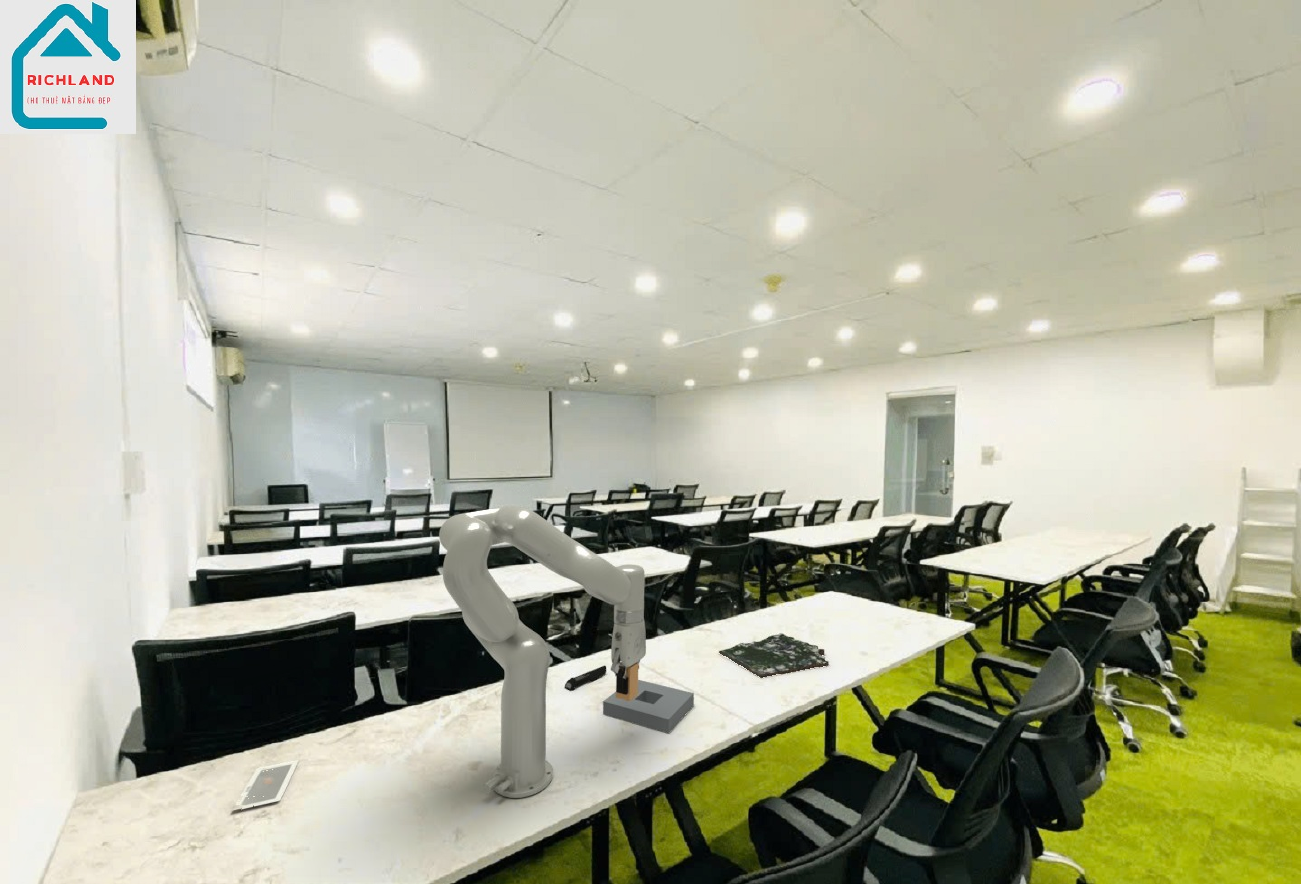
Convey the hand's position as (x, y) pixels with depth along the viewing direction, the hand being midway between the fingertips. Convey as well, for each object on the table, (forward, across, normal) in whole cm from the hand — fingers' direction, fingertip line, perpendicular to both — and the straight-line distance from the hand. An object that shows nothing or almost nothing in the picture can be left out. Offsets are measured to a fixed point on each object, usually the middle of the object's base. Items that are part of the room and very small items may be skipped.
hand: (627, 688), depth 123 cm
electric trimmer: (+12, +21, +28) cm, 37 cm away
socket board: (+12, +15, +2) cm, 19 cm away
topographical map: (+11, +68, -22) cm, 72 cm away
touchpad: (+15, -51, +58) cm, 79 cm away
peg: (+2, 0, 0) cm, 2 cm away
